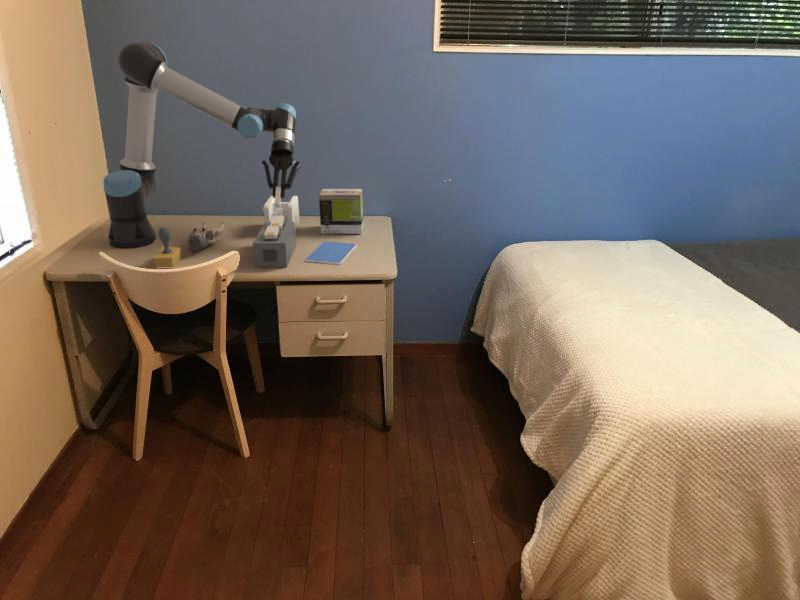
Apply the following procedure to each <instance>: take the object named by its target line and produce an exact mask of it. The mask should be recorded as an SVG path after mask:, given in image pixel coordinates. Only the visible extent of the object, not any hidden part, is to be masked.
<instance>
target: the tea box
mask: <svg viewBox="0 0 800 600" xmlns="http://www.w3.org/2000/svg"><path fill="white" fill-rule="evenodd" d="M363 197H364V196H363V189H362V188H322V190H321V191H320V193H319V195H318V203H319V204H318V205H319V206H318V207H319V219H320V220H319V222H320V223H319V224H320V233H321V235H322V234H323V235H324V234H329V235H331V234H333V235H336V234H337V235H350V234H351V235H352V234H353V235H354V234H355V235H356V234H357V235H361V234H362V233H363V229H364V203H363V200H364V199H363ZM362 228H363V229H362Z"/></svg>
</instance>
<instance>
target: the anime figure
mask: <svg viewBox="0 0 800 600" xmlns="http://www.w3.org/2000/svg"><path fill="white" fill-rule="evenodd" d="M225 224H226V223H225V222H224V221H221V223H220V226H219V228H217V227H213V226H212V227H208V228H206V227H207V226H206V225H207V224H206V222H202V225H201V226H202V227H195V228H193V229H192V230H191V231H190V233H188V234H189V235H188V237H189V238H188V239H189V241H188V244H189V246H190V248H191V249H192V250H195V251H200V250H204V249H206V248H208V246H210V244H215V243H216V242H218V241H220V239H221V238H220V236H217V238H214V235H215V234H216V235H217V234H218V235H219V234H220V233H221V232H222V231H224V228H225V226H226V225H225Z"/></svg>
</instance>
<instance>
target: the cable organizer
mask: <svg viewBox="0 0 800 600" xmlns="http://www.w3.org/2000/svg"><path fill="white" fill-rule="evenodd" d="M299 208H300V207H299V197H298V196H297V195H293V196H292V197H291V198H290V200H289V201H281V208H276V206H275V198H273V195H270V196H269V197H268V199H267V200H266V202H265V203H264V205H263V206H262V212H263V217H264V223H265V222H271V220H272V217H273V216H284V221H283V222H295V232H296V231H297V229H298V226H299V225H300V209H299Z"/></svg>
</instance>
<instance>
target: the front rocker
mask: <svg viewBox="0 0 800 600" xmlns="http://www.w3.org/2000/svg"><path fill="white" fill-rule="evenodd" d="M278 232H279V226H267V229H266V232H265V234H264V237H265V239H276V238H277V235H278Z"/></svg>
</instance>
